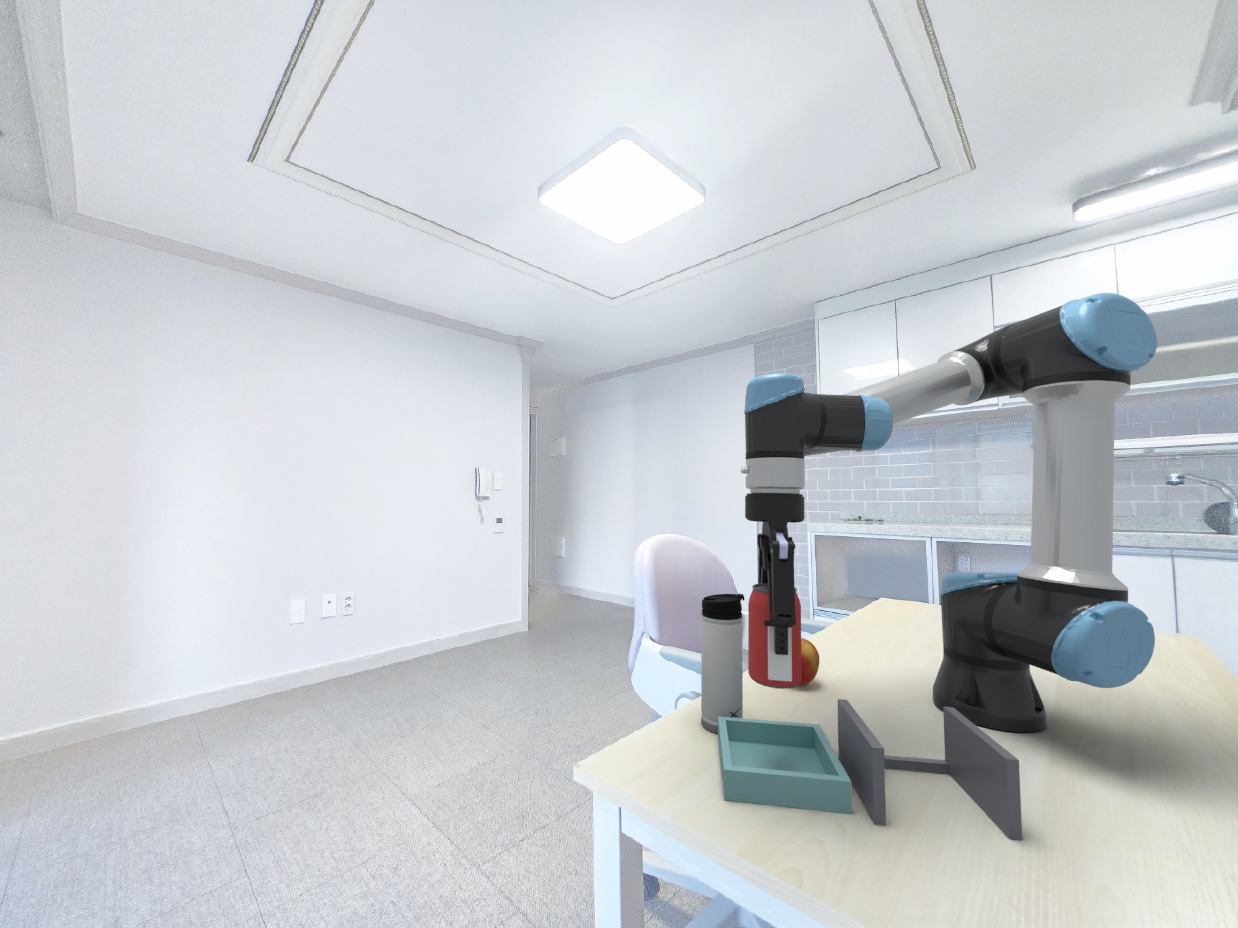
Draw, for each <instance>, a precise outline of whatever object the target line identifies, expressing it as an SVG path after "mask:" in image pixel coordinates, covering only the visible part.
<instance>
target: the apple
mask: <svg viewBox="0 0 1238 928" xmlns="http://www.w3.org/2000/svg"><path fill="white" fill-rule="evenodd" d="M819 667H820V654H819V651H818V650H817V648H816V646H815V645H814V644H813V642H812V641H810V640H809V639H806V638H803V637H801V682H800V683H799V684H798V685H797V686H801V687H803V686H807V685H809V684H810V683H812V682H813V681H814V679H815V678H816V676H817V674H818V671H819Z"/></svg>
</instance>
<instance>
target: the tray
mask: <svg viewBox="0 0 1238 928" xmlns="http://www.w3.org/2000/svg"><path fill="white" fill-rule="evenodd" d="M717 744H718V753H719V762H720V763H719V764H720V771H721V782H722V792H723V800H724V801H731V802H732V801H733V802H740V803H749V804H759V805H767V806H779V807H785V808H786V807H787V808H797V809H806V810H814V811H815V810H817V811H823V812H825V811H826V812H835V813H845V814H853V807H852V806H853V799H852V798H853V796H852V795H853V794H852V793H853V792H852V787H853V786H852V784H851V780H850V778H849V777H848V775H847V773H846V771H845V769H844V768H843V766H842V764H841V762H840V761H839V758H838V755H837V753H836V752H835V750H834V748H833V746H832V745H831V743H830V741H829V739H828V738H827V735H826V733H825V731H824V730H823V728H822V727H821V725H820V724H817V723H806V722H805V723H804V722H792V721H783V720H782V721H780V720H779V721H778V720H767V719H754V718H732V717H719V716H718V733H717Z"/></svg>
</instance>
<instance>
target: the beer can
mask: <svg viewBox="0 0 1238 928" xmlns="http://www.w3.org/2000/svg"><path fill="white" fill-rule="evenodd" d="M751 587H752V591H751V593H750V595H749V598H748V602H747V603H748V604H747V606H748V609H747V610H748V613H747V614H748V615H747V616H748V618H747V620H748V621H747V623H748V631H747V632H748V637H747V638H748V640H747V641H748V643H747V644H748V645H747V646H748V647H747V649H748V653H747V654H748V658H747V659H748V662H747V663H748V665H747V666H748V668H747V669H748V670H747V671H748V672H747V673H748V676H749V678H751V680H752V681H754V682H755V684H759V685H761V686H763V687H766V688H771V689H781V690H784V689H791V688H795V687H797V686H799V685H798V684H799V683H800V682H801V638H802V605H801V601H800V598H799V596H798V593H797V591H798V589H797V588H796V587H795V618H796V624H795V626H792V681H778V680H769V679H768V626H764V621H765V620H768V621H769V619H770V613H769V593H768V583H761V584H758V583H754V584H753V585H752V586H751ZM780 615H786V614H780Z"/></svg>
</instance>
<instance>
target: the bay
mask: <svg viewBox="0 0 1238 928" xmlns="http://www.w3.org/2000/svg"><path fill="white" fill-rule="evenodd" d="M943 710H944V711H943ZM943 710H942V711H943V740H944V741H943V742H944V743H943V744H944V759H935V758H923V757H922V758H921V757H910V756H900V755H890V754H887V755H886V754H885V747H884V746H883V745H882V744H881V742H880V741H879V740H878V738H877V737H876V735H874V733H873V732H872V730H871V729H870V728H869V726H867V724H866V723H865V722H864V720H863V719H862V717H861V716H860V715H859V713H858V712H857V711H856V709H854V707H853V706H852V705H851V703H850V702H849V701H848V699H842V698H840V699H839V698H837V745H838V746H837V747H838V750H837V751H838V755H837V757H838V759H839V761H840V762H841V764H842V766H843V768H844V769H845V771H846V773H847V775H848V777H849V778H850V780H851V786H852V787H853V789H854V790H855V793H856V795H857V796H858V798H859V800H860V801H861V803H862V805H863V807H864V809H865V811H866V812H867V814H868V816H869V818H870V819H871V821H872V823H873V825H877V826H878V825H879V826H886V825H887V817H886V815H887V813H886V812H887V811H886V809H887V808H886V774H885V773H886V769H889V770H898V771H899V770H900V771H910V772H911V771H912V772H921V773H934V774H944V775H949V776H951V778H952V779H953V780H954V781H955V782H956V783H957V784H958V786H959V787H961V789H963V791H964V792H965V793H966V794H967V795H968V796H969V797H970V798H971V799H972V801H974V802H975V803H976V804H977V806H978V807H979V808H980V809H981V810H982V811H983V812H984V813H985V814H986V815H987V816H988V818H989V819H990V820H991V821H992V822H993V823H994V824H995V825H996V826H997V827H998V828H999V829H1000V830H1001V832H1002V833H1003V834H1004V835H1005V836H1006V837H1007V838H1008V839H1009V840H1017V841H1023V829H1022V828H1023V826H1022V806H1021V805H1022V804H1021V802H1022V801H1021V782H1020V781H1021V778H1020V760H1019V758H1017V757H1016V756H1014V754H1012V753H1011V752H1009V750H1007V749H1006V748H1005V747H1003V746H1002V745H1001V744H999V742H997V741H996V740H995V739H994V738H992V737H991V736H989V734H987V733H986V732H985V731H984V730H982V729H981V728H980V727H978V726H977V724H974V723H972V722H971V721H970V720H968V719H967V718H966V717H965V716H963V715H962V714H961V713H960V712H958V711H957V710H956V709H955V708H953V707H943Z"/></svg>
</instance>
